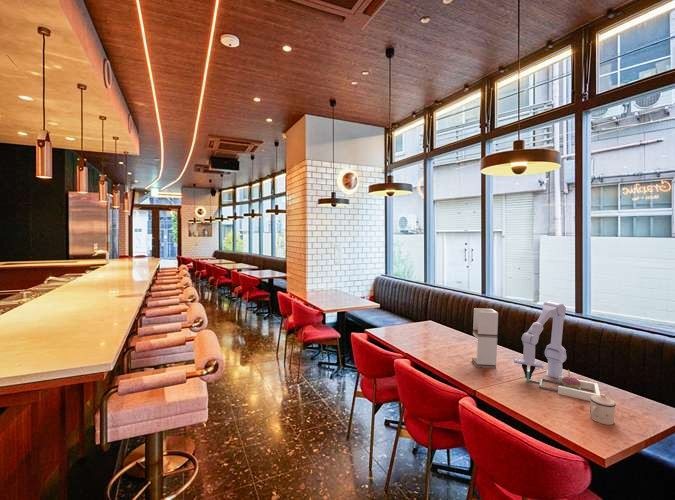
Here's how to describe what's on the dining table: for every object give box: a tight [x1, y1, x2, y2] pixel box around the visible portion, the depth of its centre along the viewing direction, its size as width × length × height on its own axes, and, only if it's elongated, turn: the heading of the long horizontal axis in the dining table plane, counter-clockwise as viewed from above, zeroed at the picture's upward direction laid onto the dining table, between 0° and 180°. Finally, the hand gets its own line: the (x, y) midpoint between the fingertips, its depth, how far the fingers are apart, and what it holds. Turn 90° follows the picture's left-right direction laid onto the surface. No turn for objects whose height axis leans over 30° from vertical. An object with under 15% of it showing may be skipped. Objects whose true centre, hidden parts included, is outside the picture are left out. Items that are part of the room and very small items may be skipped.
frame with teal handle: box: [526, 368, 582, 393], centre depth 185 cm, size 13×25×6 cm, turn 56°
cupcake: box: [562, 368, 581, 390], centre depth 181 cm, size 9×8×12 cm
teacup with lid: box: [589, 393, 617, 426], centre depth 152 cm, size 12×9×12 cm
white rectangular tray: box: [557, 375, 601, 402], centre depth 179 cm, size 17×18×4 cm
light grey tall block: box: [471, 307, 499, 369], centre depth 216 cm, size 11×11×35 cm
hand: (528, 378), depth 192 cm, fingers closed
